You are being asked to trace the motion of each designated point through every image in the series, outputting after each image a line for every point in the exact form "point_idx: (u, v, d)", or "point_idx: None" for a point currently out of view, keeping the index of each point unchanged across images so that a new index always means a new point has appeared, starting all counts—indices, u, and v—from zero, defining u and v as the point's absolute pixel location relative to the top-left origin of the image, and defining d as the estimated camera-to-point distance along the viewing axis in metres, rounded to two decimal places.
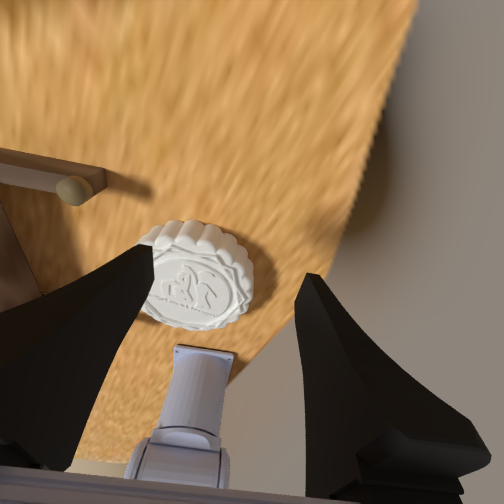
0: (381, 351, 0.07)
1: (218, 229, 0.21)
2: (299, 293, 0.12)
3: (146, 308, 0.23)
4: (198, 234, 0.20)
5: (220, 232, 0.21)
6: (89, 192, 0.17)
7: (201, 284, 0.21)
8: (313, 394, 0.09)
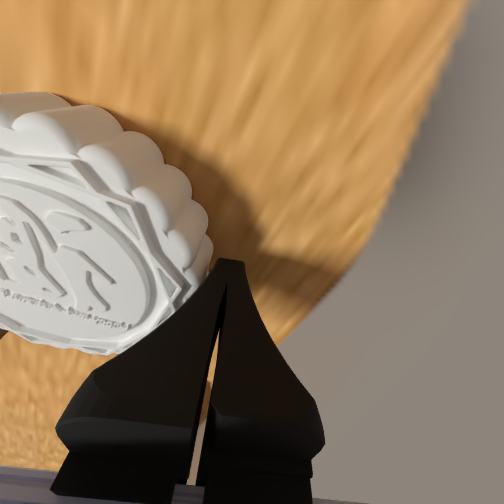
0: (265, 333, 0.07)
1: (107, 116, 0.09)
2: None
3: None
4: (36, 110, 0.07)
5: (113, 124, 0.09)
6: None
7: (65, 249, 0.08)
8: (213, 380, 0.08)
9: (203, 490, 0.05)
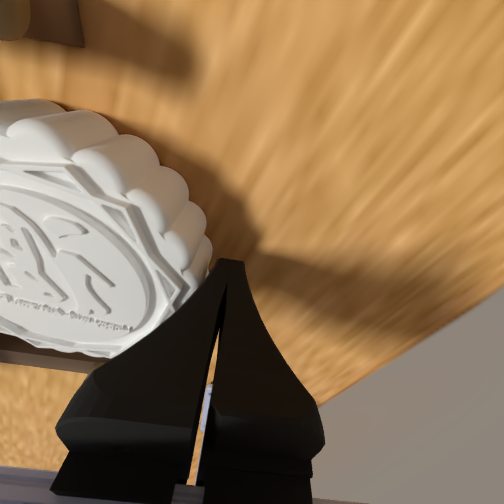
0: (265, 333, 0.07)
1: (101, 120, 0.09)
2: None
3: None
4: (30, 117, 0.07)
5: (107, 128, 0.09)
6: None
7: (63, 254, 0.08)
8: (213, 380, 0.08)
9: (203, 490, 0.05)
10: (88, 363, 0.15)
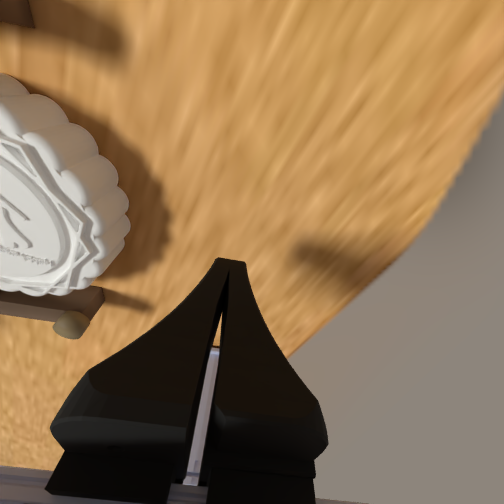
0: (267, 334, 0.07)
1: (12, 81, 0.11)
2: None
3: None
4: None
5: (17, 87, 0.11)
6: None
7: None
8: (215, 381, 0.08)
9: (206, 490, 0.05)
10: (58, 312, 0.17)
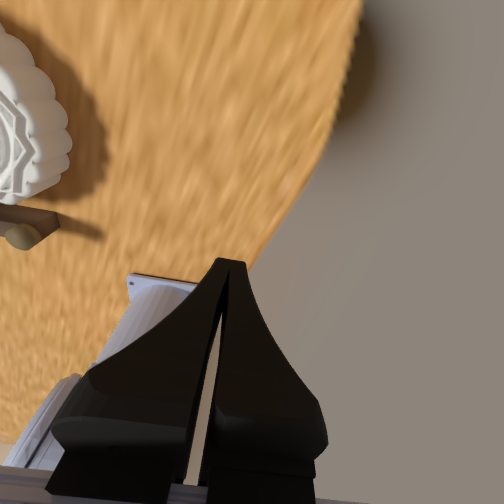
0: (267, 334, 0.07)
1: None
2: None
3: None
4: None
5: None
6: None
7: None
8: (215, 381, 0.08)
9: (206, 490, 0.05)
10: (11, 225, 0.19)
